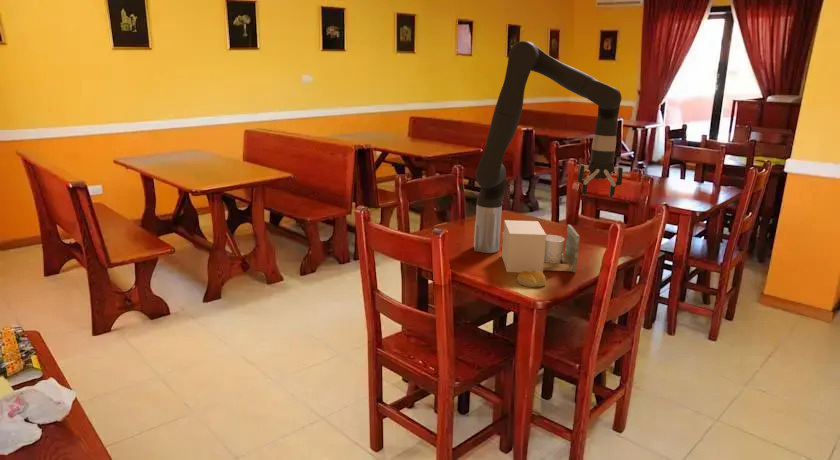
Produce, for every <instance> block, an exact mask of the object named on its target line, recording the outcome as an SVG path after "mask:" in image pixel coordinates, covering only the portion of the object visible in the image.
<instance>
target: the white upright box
mask: <svg viewBox="0 0 840 460" xmlns="http://www.w3.org/2000/svg"><path fill="white" fill-rule="evenodd" d="M502 235H503V236H502V247H501V248H502V249H501V250H502V251H501V257H502V260H503V261H502V262H503V264H504V267H505V270H506V272H507V273H521V272H523V271H528V272H531V271H534V270H536V271H540V272H542V273H543V274H544V270H543V266H544V255H545V244H546V235H547V233H546V232H545V230H544V228H543V227H542V226H541V224H540V222H539V221H537V220H508V219H505V220H503V234H502Z"/></svg>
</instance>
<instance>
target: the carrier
mask: <svg viewBox="0 0 840 460" xmlns="http://www.w3.org/2000/svg"><path fill="white" fill-rule="evenodd" d="M580 237H581V236H580V235H579V233H578V232H577V231H576V229H575V228H574V227H573V226H572V224H567V228H566V238H565V247H564V248H565V249H564V253H562V259H561V262H562V263H560V264H551V263H544V266H543V271H554V272H555V271H557V272H562V271H563V272H572V273H577V264H578V257H579V247H580V240H581V239H580Z"/></svg>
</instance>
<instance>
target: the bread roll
mask: <svg viewBox="0 0 840 460" xmlns="http://www.w3.org/2000/svg"><path fill="white" fill-rule="evenodd" d="M546 279H547V278H546V275H545V274H544V272H543V273H542V272H540V271H536V270H534V271H531V272H528V271H523V272H519V273H518V275H517V279H516V280H517V283H518V284H520V285H522V286H524V287H528V288H536V287H538V288H540V287H544V286H545V285H546V284H547V282H546Z"/></svg>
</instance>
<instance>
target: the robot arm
mask: <svg viewBox="0 0 840 460" xmlns="http://www.w3.org/2000/svg"><path fill="white" fill-rule="evenodd" d="M531 72H534V73H538V74H540V75H542V76H544V77H546V78H548V79H550V80H552V81H553V82H555V83H557V84H558V85H560V86H561V87H563V88H564V89H566V90H568V91H570V92H571V93H573V94H576V95H578V96H580V97H581V98H585V99H587V100H589V101H590V102H592V103H593V104H595V105H597V106H598V107H597V117H596V122H595V127H594V135H593V138H592V144H591V151H590V152H591V154H590V160H589V164H588V165H586V164H583V163H581V164H579V169H578V174H577V182H578V183H581V184H582V186H581V193H582V194H583V196H586V195H587V193H588V192H587V190H588V184H589V182H590V181H591V180H593V179H595V180H596V179H597V180H598V179H601V180H605V179H607V180H608V181H609V183H610V185H609V191H608V197H609V198H612V197H613V196H615V191H616V187H617V186H621V185H622V183H623V172H624V171H623V170H624V169H623V167H622V166H614V162H615V154H616V148H617V147H616V146H617V134H618V125H619V120H618V118H619V113H620V108H621V102H622V94H621V91H620V90H619V89H618V88H616V87H614V86H611V85H609V84H606V83H605V82H601V80H600V81H599V80H597V79H596V78H595V77H594V76H592V75H590V74H587V73H586V72H584V71H582V70H580V69H577V68H575V67H573V66H571V65H568V64H566V63H563V62H562V61H560V60H558V59H556V58H554V57H552V56H551V55H549V54H547V52H544V50H542V49H541V48H540V47H538V46H537V45H536V44H535V43H533V42H532V41H530V40H529V41H528V40H521V41H518V42H515V44H513V46H512V47H511V48H510V50H509V53H508V59H507V66H506V70H505V76H504V81H503V83H502V87H501V89H500V91H499V95H498V98H497V100H496V103H495V107H494V111H493V115H492V118H491V122H490V127H489V131H488V134H487V138H486V143H485V146H484V150H483V153H482V155H481V158H480V160H479V163H478V166H477V168H476V172H475V181H476V182H477V184H478V185H479V187H480V190H479V193H478V195H477V197H476V210H475V211H476V212H475V214H476V215H475V223H474V233H473V234H474V236H473V249H474V252H479V253H483V254H484V253H485V254H493V253H497V252H499V251H500V241H501V240H500V239H501V238H500V237H501V225H502V211H503V210H502V209H503V199H504V197H505V193H506V181H507V170H506V167H505V165H504V164H503V160H504V156H505V153H506V152H507V149H508V147H509V146H510V143H511V142H512V140H513V139H514V136H515V134H516V131H517V130H518V127H519V123H520V119H521V116H522V112H523V106H524V100H525V99H524V98H525V91H526V89H525V88H526V85H527V81H528V79H529V76H530V73H531ZM587 170H589V173H588V174H587V175H586V177H584V173H585V172H586V171H587ZM614 171H615V173H616V181H615V180H614V179H613V177H612V176H611V174H612V173H613V172H614ZM583 177H584V179H583Z"/></svg>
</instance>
